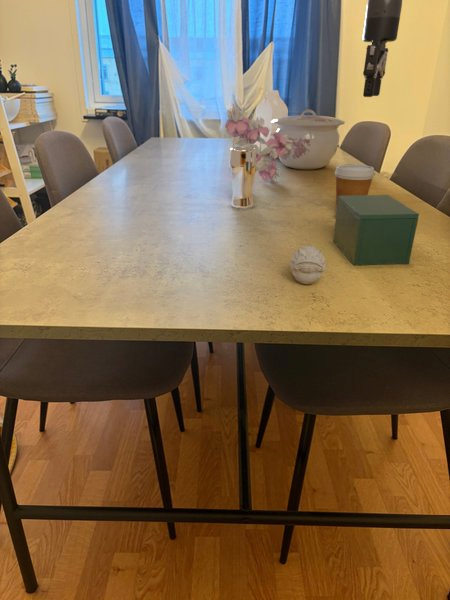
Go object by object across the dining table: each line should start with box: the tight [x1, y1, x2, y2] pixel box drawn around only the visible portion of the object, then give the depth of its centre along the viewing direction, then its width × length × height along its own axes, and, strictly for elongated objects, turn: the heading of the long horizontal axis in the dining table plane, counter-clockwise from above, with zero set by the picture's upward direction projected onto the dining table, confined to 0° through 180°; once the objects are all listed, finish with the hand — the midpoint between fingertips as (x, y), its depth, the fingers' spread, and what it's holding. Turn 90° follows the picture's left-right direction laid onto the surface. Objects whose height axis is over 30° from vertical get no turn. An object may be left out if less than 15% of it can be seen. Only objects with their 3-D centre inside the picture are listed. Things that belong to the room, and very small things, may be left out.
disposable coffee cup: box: [334, 163, 376, 214], centre depth 107 cm, size 10×10×12 cm
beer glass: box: [229, 146, 257, 209], centre depth 115 cm, size 7×7×15 cm
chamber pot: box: [271, 108, 346, 171], centre depth 165 cm, size 28×28×21 cm
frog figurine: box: [288, 245, 327, 285], centre depth 72 cm, size 6×7×7 cm
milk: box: [254, 89, 289, 152], centre depth 202 cm, size 12×12×26 cm
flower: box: [224, 103, 292, 182], centre depth 138 cm, size 20×22×25 cm
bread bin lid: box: [337, 194, 420, 219], centre depth 83 cm, size 14×11×1 cm
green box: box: [332, 201, 419, 266], centre depth 85 cm, size 14×11×9 cm
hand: (371, 96), depth 105 cm, fingers open, 8 cm apart
